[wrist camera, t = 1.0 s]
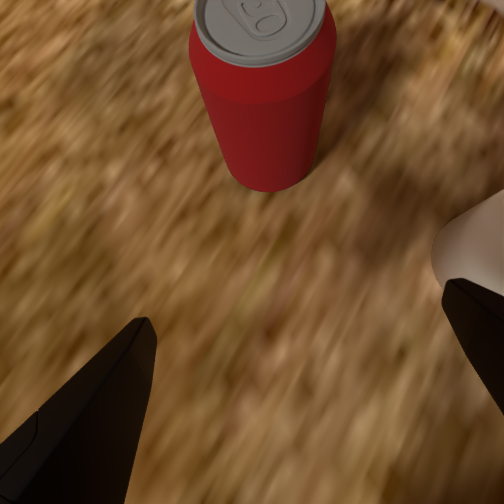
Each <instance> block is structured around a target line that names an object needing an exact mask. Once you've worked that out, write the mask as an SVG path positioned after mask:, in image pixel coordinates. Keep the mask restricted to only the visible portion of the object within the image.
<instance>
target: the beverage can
mask: <svg viewBox="0 0 504 504" xmlns="http://www.w3.org/2000/svg"><path fill="white" fill-rule="evenodd" d="M336 40H337V34H336V27H335V23H334V19H333V16H332V14H331V11H330V9H329V7H328V5H327V2H326V0H195V3H194V21H193V25H192V29H191V33H190V38H189V57H190V61H191V65H192V68H193V71H194V74H195V77H196V80H197V82H198V85H199V88H200V91H201V94H202V97H203V100H204V103H205V106H206V109H207V112H208V115H209V117H210V120H211V123H212V126H213V129H214V132H215V134H216V137H217V140H218V143H219V145H220V148H221V151H222V153H223V156H224V159H225V161H226V164H227V167H228V169H229V171H230V172H231V174H232V175H233V177H234V178H235V179H236V180H237V181H238V182H240V183H241V184H242V185H244V186H246V187H247V188H250V189H252V190H255V191H260V192H276V191H281V190H284V189H287V188H289V187H291V186H293V185H294V184H296V183H297V182H299V181H300V180H301V179H302V178H303V177H304V176H305V175H306V173H307V172H308V170H309V169H310V167H311V165H312V162H313V159H314V154H315V150H316V145H317V141H318V136H319V131H320V126H321V122H322V117H323V112H324V107H325V101H326V96H327V91H328V86H329V81H330V75H331V70H332V64H333V59H334V53H335V48H336Z"/></svg>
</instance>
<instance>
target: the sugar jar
mask: <svg viewBox="0 0 504 504" xmlns="http://www.w3.org/2000/svg"><path fill="white" fill-rule="evenodd" d="M431 261H432V267H433V271H434V274H435V276H436V279H437V281H438V282H439V284H440V286H441V287H442V289H443V290H444V287H445V283H446V281H447V280H449V279H453V278H465V279H467V280H470V281H472V282H474V283H476V284H478V285H481V286H483V287H485V288H487V289H490V290H492V291H494V292H496V293H498V294H501V295H503V296H504V189H503V190H501V191H499V192H498V193H496V194H494V195H493V196H491V197H489V198H488V199H486V200H484V201H483V202H481V203H479V204H478V205H476V206H474V207H473V208H471V209H469V210H468V211H466V212H464V213H463V214H461V215H459V216H458V217H456V218H454V219H453V220H451V221H449V222H448V223H447V224H446V225H445V226H444V227H443V228H442V229H441V230H440V231H439V233H438V234H437V236H436V238H435V240H434V243H433V246H432V253H431Z"/></svg>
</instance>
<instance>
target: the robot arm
mask: <svg viewBox="0 0 504 504" xmlns="http://www.w3.org/2000/svg"><path fill="white" fill-rule="evenodd" d="M442 307H443V310H444V312H445V314H446V316H447V318H448V320H449V322H450V324H451V326H452V328H453V330H454V332H455V334H456V336H457V339H458V341H459V343H460V345H461V347H462V349H463V351H464V352H465V354H466V356H467V358H468V359H469V361H470V363H471V364H472V366H473V367H474V369H475V371H476V372H477V374H478V375H479V377H480V379H481V380H482V382H483V383H484V385H485V386H486V388H487V390H488V391H489V393H490V394H491V396H492V398H493V399H494V401H495V402H496V404H497V405H498V407H499V409H500V410H501V412H502V413H503V415H504V296H503V295H501V294H498V293H496V292H494V291H492V290H490V289H487V288H485V287H483V286H481V285H478V284H476V283H474V282H472V281H470V280H467V279H465V278H453V279H449V280H447V281H446V283H445V287H444V292H443V296H442ZM156 347H157V336H156V333H155V331H154V328H153V326H152V324H151V322H150V320H149V318H148V317H139V318H134V319H133V320H132V321H130V322H129V323H128V324H127V325H126V326H125V327H124V328H123V329H122V330H121V331H120V332H119V333H118V334H117V335H116V336H115V337H114V338H113V339H112V340H110V341H109V342H108V343H107V344H106V345H105V346H104V347H103V348H102V349H101V350H100V351H99V352H98V353H97V354H96V355H95V356H94V357H93V358H91V359H90V360H89V361H88V362H87V363H86V364H85V365H84V366H83V367H82V368H81V369H80V370H79V371H78V372H77V373H76V374H75V375H74V376H73V377H71V378H70V379H69V380H68V381H67V382H66V383H65V384H64V385H63V386H62V387H61V388H60V389H59V390H58V391H57V392H56V393H55V394H54V395H52V396H51V397H50V398H49V399H48V400H47V401H46V402H45V403H44V404H43V405H42V406H41V407H40V408H39V409H38V411H36V412H34V413H33V414H32V415H31V416H30V417H29V418H28V419H27V420H26V421H25V422H24V423H23V424H22V425H21V426H20V427H19V428H17V429H16V430H15V431H14V432H13V433H12V434H11V435H10V436H9V437H8V438H7V439H5V440H4V441H3V442H2V443H1V444H0V504H124V502H125V497H126V493H127V489H128V485H129V481H130V476H131V472H132V468H133V464H134V460H135V455H136V451H137V447H138V443H139V439H140V434H141V430H142V426H143V422H144V417H145V413H146V409H147V405H148V401H149V396H150V392H151V386H152V380H153V372H154V363H155V355H156Z"/></svg>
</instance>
